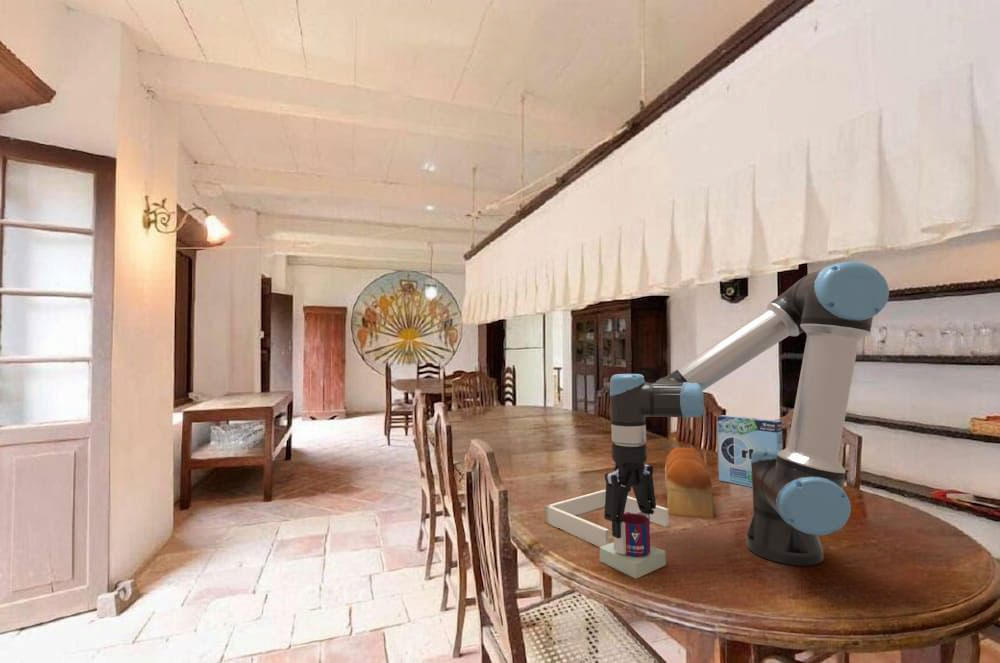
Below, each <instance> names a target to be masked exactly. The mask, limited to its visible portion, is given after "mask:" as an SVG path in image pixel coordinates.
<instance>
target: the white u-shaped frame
mask: <svg viewBox="0 0 1000 663" xmlns="http://www.w3.org/2000/svg"><path fill="white" fill-rule="evenodd" d="M605 496H606V488H605V489H601V490H598V491H595V492H592V493H588V494H584V495H580V496H576V497H573V498H570V499H566V500H561V501H558V502H554V503H551V504H548V505H547V504H546V505H545V506H544V508H545V509H544V510H545V511H544V513H545V523H546V524H549V525H550V524H551V526H553V527H555V528H558V529H559V528H560V530H561V529H562V531H563V530H564V531H563V532H566V533H568V534H570V535H572V536H575V537H576V536H577V538H579V539H581V540H583V541H585V542H588V543H589V544H592V545H594V546H597V547H598V548H599V547H602V546H605V545H607V544H610V530H609V529H608V528H606V527H604V526H602V525H599V524H596V523H594V522H592V521H589V520H587V519H584V518H581V517H579V516H577V515H581V514H584V513H588V512H591V511H594V510H597V509H598V510H599V509H601V508H605ZM652 510H654V513H653V514H650V523H654V524H657V525H660V526H662V527H665V528H666V527H669V526H670V514H669V512H668V508H667V507H663V506H660V505H658V504H656V508H655V509H652ZM638 511H639V512H641V511H640V510H639V507H638V504H637V500H636V497H631V496H629V495H628V496H627V501H626V506H625V510H624V514H626V513H627V512H630V513H634V514H637V512H638Z"/></svg>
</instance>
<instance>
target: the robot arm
mask: <svg viewBox="0 0 1000 663" xmlns="http://www.w3.org/2000/svg"><path fill="white" fill-rule="evenodd" d="M889 290H890V289H889V285H888V283H887V280H886V278H885V276H884V275H883V274H881V272H880V271H879V270H877V268H875V267H873V266H871V265H869V264H868V263H864V262H860V261H844V262H837V263H836V262H835V263H832V264H830V265H827V266H826V267H824V268H823V269H819V270H816V271H815V272H811V273H808V274H807V275H805V276H803V277H802V278H800V279H798V280H797V281H796V282H795V283H794V284H792V286H790V287H789V288H787V290H786V291H783V292H782V293H781V294H779V296H777V297H776V298H775V299H773V300H772V301H770V302H769V303H767V306H766V310H765V311H763V312H761V313H759V315H756V316H755V317H754V318H752V319H751V320H750V321H748V322H746V323H745V324H743V325H742V326H741V327H739V328H737V329H736V330H734V331H733V332H731V333H729V334H728V335H727V336H725V337H724V338H722V339H720V341H717V343H715V344H713V345H712V346H711V347H709V348H707V349H706V350H704V351H702V352H701V353H700V354H698V355H696V356H694V358H692V359H690V360H689V361H687V362H686V363H685V364H683V365H681V366H680V367H678V368H677V369H676V370H675V371H673V372H671V373H670V374H668V375H667V376H665V377H662V378H659V379H658V380H656V381H655V382H646V381H645V376H644V375H643V374H640V373H617V374H616V373H615V374H613V375H612V376H611V377H610V381H609V403H610V404H609V405H610V409H609V410H610V424H611V425H610V426H611V428H610V429H611V442H613V443H612V444H611V458H612V461H613V462H614V465H615V467H614V469H613V472H611V473H610V472H606V473H604V479H605V484H606V485H605V489H606V496H605V507H604V512H603V513H604V514H603V515H604V517H603V518H604V519H605V520H607V521H608V522H611V533H612V537H613V542H614V550H615V551H617V552H620V553H622V554H626V533H625V523H624V522H622V520H623V515H624V514H625V512H624V510H625V506H626V501H627V496H629V493H630V492H631V491H632V490H633V493H634V496H635V497H634V498H635V499H636V500H637V504H638V507H639V510H640V511H641V512H639V511H638V512H637V514H640V515H643V516H646V517H647V518H648V519H649V524H650V525H651V521H650V514H653V513H654V510H652V509H655V508H656V505H657V502H656V495H655V487H654V478H653V474H654V466H653V465H649V464H645V462H647V458H648V454H647V445H646V444H645V443H646V442H647V426H646V425H647V424H646V417H651V418H652V417H653V418H654V417H657V418H658V417H659V418H660V417H662V418H684V419H689V418H700V417H702V415H703V413H704V409H705V408H704V407H705V399H704V391H705V390H706V389H708V388H709V387H711V386H712V385H714V384H715V383H717V382H718V381H720V380H721V379H724V378H725V377H726V376H727V377H728V375H730V374H732V373H733V372H734V371H736V370H738V369H739V368H741V367H743V366H744V365H745V364H747V363H749V362H750V361H751V360H753V359H754V358H756V357H758V356H759V355H762V353H764V352H766V351H767V350H769V349H771V348H772V347H774V346H775V345H777V344H778V343H781V341H783V340H784V339H786V338H788V337H789V336H790V337H798V336H799V335H801V334H803V333H805V334H806V339H805V340H806V341H805V346H804V351H803V357H802V361H801V362H802V363H801V366H800V368H801V369H800V374H799V380H798V384H797V392H796V395H795V396H796V397H795V403H794V407H793V414H792V420H791V425H790V430H789V436H788V441H787V442H788V443H787V446H786V448H784V449H783V450H756V451H754V452H753V453H752V457H751V467H752V487H751V488H752V504H753V514H752V516H751V519H750V523H749V526H748V528H747V531H746V535H745V536H746V546H747V549H748V550H749V551H751V552H752V553H754V554H755V555H757V556H759V557H761V558H763V559H766V560H769V561H773V562H776V563H779V564H785V565H790V566H805V567H806V566H814V565H818V564H820V563H823V561H824V558H825V557H824V548H823V544H822V542H821V539H820V537H819V536H827V535H830V534H833V533H834V532H836V531H839V530H840V529H842V528H843V527H844V526H845V525H846V523H847V522H848V521H849V519H850V515H851V511H852V510H851V502H850V499H849V496H848V495H847V493H846V491H845V490H844V488H843V487H844V482H845V477H846V468H845V467H844V466H843V465H842V464H841V463H840V462H839V454H840V450H841V449H840V448H841V443H842V438H843V437H842V436H843V431H844V426H845V419H846V414H847V409H848V403H849V397H850V392H851V387H852V386H851V385H852V379H853V376H854V370H855V369H854V368H855V363H856V359H857V353H858V346H859V342H861V340H863V339H864V338H866V337H867V336H869V335H870V334H871V330H872V325H873V320H874V317H875V316H876V315H878V314H879V313H880V312H882V310H883V309H884V307H886V305H887V303H888V301H889V295H890V291H889Z"/></svg>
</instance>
